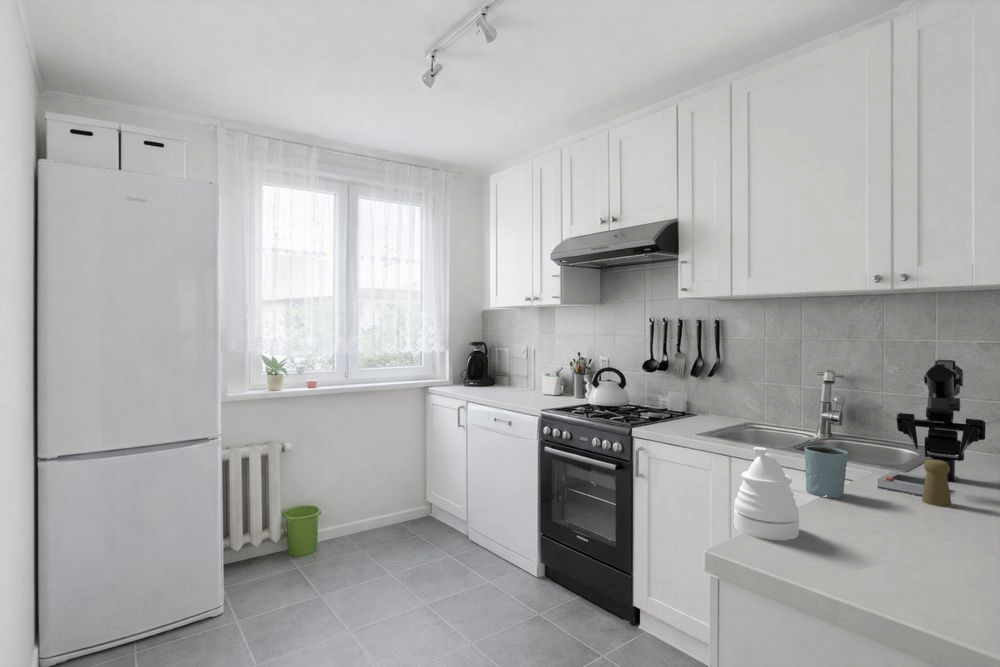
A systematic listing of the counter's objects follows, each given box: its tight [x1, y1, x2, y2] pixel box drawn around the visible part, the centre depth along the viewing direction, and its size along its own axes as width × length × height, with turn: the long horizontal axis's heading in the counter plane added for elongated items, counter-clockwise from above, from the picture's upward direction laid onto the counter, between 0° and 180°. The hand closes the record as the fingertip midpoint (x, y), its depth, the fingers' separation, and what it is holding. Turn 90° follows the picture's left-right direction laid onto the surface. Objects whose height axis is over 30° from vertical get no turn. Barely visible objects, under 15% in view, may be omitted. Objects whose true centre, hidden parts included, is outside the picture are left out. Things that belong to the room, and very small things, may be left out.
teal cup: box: [804, 445, 849, 499], centre depth 146 cm, size 10×10×12 cm
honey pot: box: [733, 446, 800, 541], centre depth 119 cm, size 13×13×18 cm
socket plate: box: [877, 470, 926, 497], centre depth 152 cm, size 14×12×3 cm
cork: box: [921, 459, 952, 508], centre depth 139 cm, size 6×6×11 cm
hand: (938, 450), depth 143 cm, fingers open, 9 cm apart
